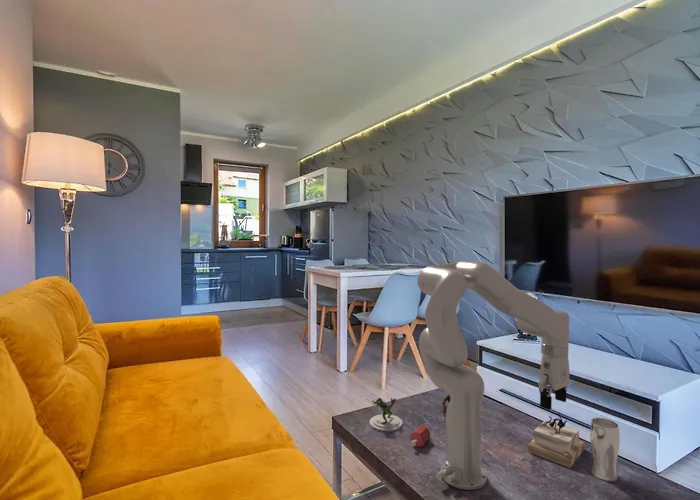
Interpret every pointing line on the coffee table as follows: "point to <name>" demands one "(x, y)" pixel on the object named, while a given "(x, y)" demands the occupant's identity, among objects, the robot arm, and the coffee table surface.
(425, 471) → the coffee table surface
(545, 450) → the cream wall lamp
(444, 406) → the pottery mug
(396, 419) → the monster figurine
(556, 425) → the creature
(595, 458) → the beer glass
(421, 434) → the meat
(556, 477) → the coffee table surface
